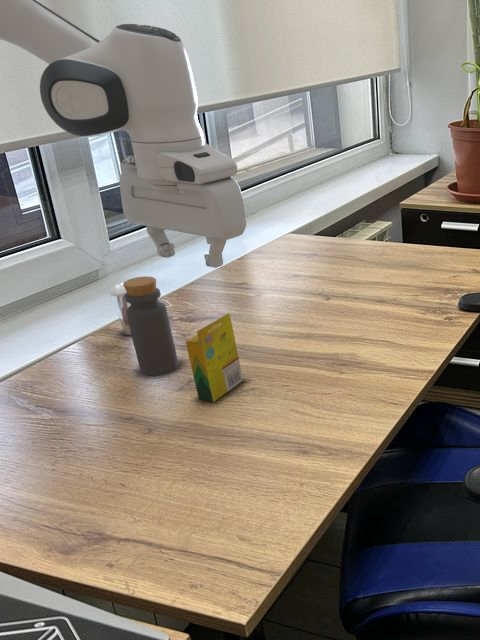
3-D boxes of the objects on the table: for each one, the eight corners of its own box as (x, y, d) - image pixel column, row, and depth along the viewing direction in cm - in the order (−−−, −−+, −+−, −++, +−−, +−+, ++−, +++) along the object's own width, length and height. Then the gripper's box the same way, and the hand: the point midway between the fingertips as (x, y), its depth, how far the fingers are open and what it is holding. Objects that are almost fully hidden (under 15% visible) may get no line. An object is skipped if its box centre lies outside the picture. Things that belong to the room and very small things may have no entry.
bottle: (184, 367, 115) (166, 280, 109) (149, 379, 112) (127, 290, 105) (169, 356, 119) (150, 272, 113) (134, 368, 115) (112, 281, 109)
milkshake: (133, 339, 126) (120, 286, 121) (115, 333, 128) (101, 281, 124) (155, 330, 129) (143, 278, 125) (137, 324, 132) (125, 273, 127)
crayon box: (228, 378, 112) (216, 309, 107) (244, 380, 111) (232, 312, 106) (197, 400, 105) (181, 328, 100) (213, 403, 104) (198, 331, 99)
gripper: (98, 157, 95) (121, 256, 101) (208, 171, 86) (226, 279, 92) (138, 150, 100) (157, 245, 106) (246, 162, 91) (260, 265, 97)
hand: (190, 261), depth 99 cm, fingers open, 8 cm apart
